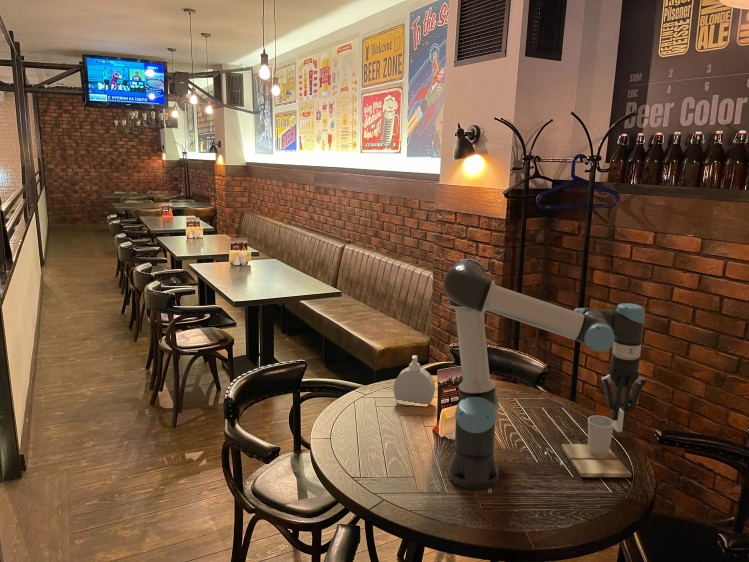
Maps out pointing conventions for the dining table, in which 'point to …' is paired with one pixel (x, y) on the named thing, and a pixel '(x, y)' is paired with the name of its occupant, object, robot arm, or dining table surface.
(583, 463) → the plank
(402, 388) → the soap bottle
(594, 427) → the cup
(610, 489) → the dining table surface
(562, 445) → the tan flat board
